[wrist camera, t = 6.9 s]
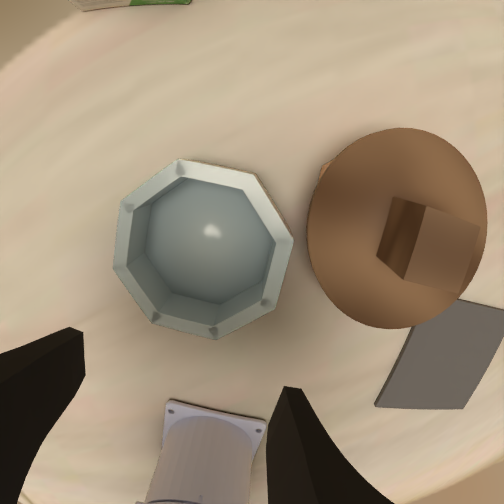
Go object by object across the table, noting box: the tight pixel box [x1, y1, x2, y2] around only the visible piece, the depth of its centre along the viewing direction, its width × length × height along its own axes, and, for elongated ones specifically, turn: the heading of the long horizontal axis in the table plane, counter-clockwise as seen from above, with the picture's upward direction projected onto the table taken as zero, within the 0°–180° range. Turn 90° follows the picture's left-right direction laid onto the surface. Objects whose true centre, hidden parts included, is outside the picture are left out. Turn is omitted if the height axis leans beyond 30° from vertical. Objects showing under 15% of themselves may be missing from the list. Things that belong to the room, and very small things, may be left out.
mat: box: [374, 299, 504, 409], centre depth 21 cm, size 10×10×1 cm
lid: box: [306, 128, 487, 329], centre depth 13 cm, size 10×10×4 cm
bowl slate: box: [113, 159, 294, 340], centre depth 18 cm, size 9×9×4 cm
